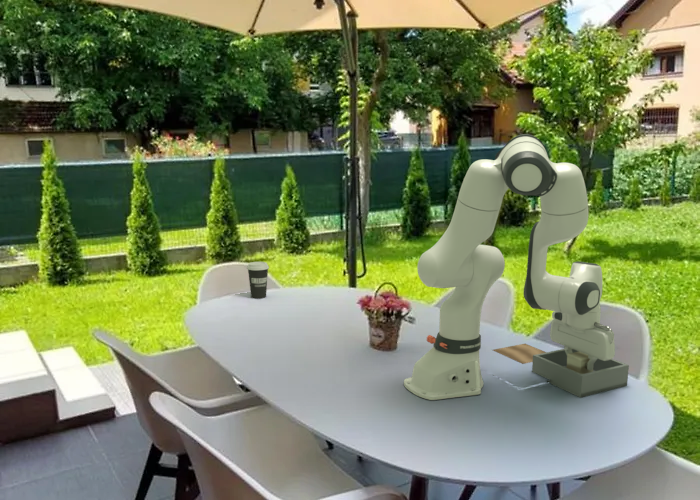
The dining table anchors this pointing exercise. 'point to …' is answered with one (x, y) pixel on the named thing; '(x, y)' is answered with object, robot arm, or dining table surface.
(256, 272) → the coffee cup
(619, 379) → the bin
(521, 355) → the walnut board
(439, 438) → the dining table surface
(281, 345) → the dining table surface
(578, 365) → the cream block
